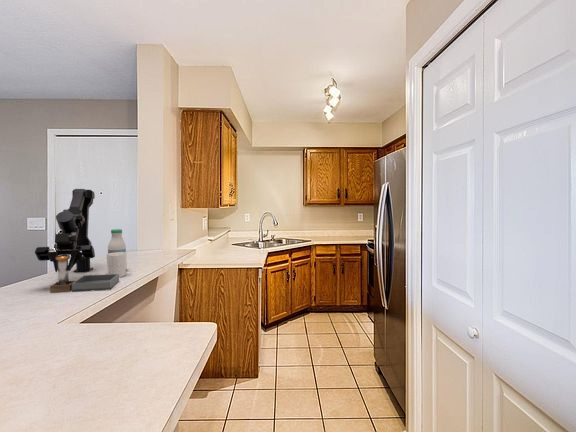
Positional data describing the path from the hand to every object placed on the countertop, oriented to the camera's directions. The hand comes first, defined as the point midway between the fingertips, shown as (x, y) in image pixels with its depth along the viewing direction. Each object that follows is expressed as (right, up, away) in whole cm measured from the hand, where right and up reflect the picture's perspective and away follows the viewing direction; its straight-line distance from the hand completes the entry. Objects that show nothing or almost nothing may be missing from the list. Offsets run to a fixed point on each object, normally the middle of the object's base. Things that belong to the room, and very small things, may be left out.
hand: (62, 271), depth 124 cm
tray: (+9, -7, +7) cm, 14 cm away
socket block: (-1, -7, +2) cm, 8 cm away
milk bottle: (+4, -6, +32) cm, 33 cm away
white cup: (+9, -6, +24) cm, 26 cm away
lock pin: (-1, -6, +2) cm, 7 cm away
